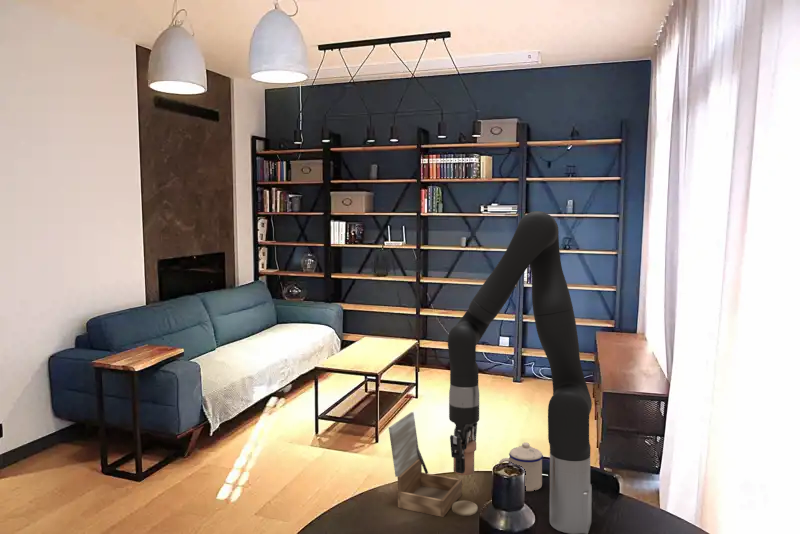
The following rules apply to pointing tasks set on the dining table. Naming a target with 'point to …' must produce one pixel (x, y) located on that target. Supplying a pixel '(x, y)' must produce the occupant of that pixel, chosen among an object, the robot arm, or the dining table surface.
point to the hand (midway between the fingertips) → (464, 467)
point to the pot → (468, 459)
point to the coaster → (464, 508)
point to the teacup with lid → (528, 464)
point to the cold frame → (419, 474)
